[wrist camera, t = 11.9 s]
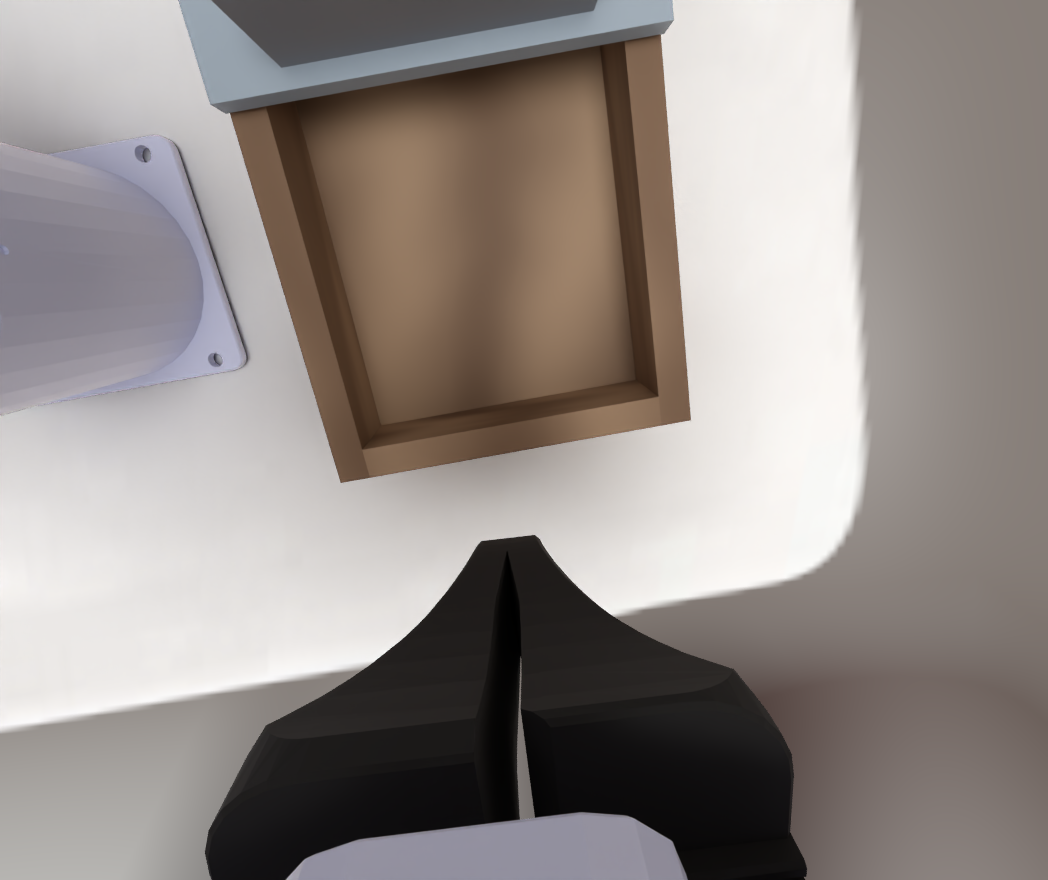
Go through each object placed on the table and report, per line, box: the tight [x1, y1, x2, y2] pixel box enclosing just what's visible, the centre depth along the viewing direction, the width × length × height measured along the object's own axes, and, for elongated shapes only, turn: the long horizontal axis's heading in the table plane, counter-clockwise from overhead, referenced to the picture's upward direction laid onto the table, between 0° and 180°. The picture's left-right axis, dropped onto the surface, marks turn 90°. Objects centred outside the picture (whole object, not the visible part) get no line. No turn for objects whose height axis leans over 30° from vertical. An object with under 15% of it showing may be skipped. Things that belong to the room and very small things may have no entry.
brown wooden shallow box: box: [230, 34, 691, 483], centre depth 17 cm, size 12×16×4 cm
